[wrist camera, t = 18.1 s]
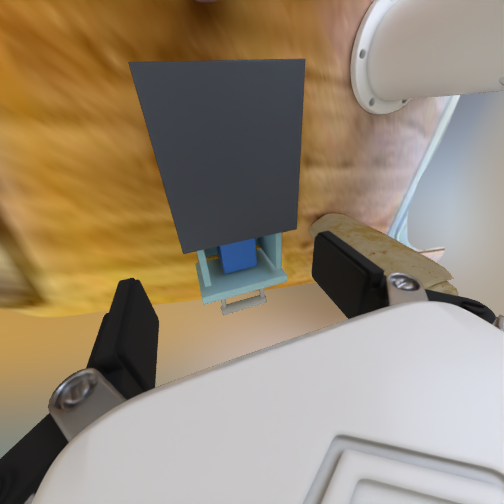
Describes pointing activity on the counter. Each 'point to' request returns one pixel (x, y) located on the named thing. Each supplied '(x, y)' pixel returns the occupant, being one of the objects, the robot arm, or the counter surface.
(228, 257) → the blue cube
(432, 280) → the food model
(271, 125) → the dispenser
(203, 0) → the decorative fruit
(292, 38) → the counter surface
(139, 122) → the counter surface
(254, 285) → the teal drawer
